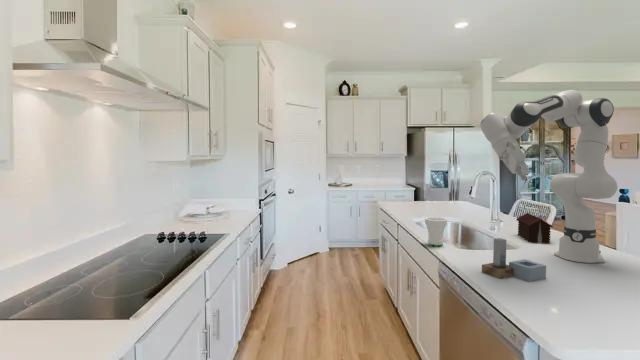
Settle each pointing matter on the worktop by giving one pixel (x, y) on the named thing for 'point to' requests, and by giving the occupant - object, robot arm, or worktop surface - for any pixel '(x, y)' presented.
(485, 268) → the socket block
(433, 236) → the cup
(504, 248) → the tall brushed metal pillar
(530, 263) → the block
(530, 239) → the model building
